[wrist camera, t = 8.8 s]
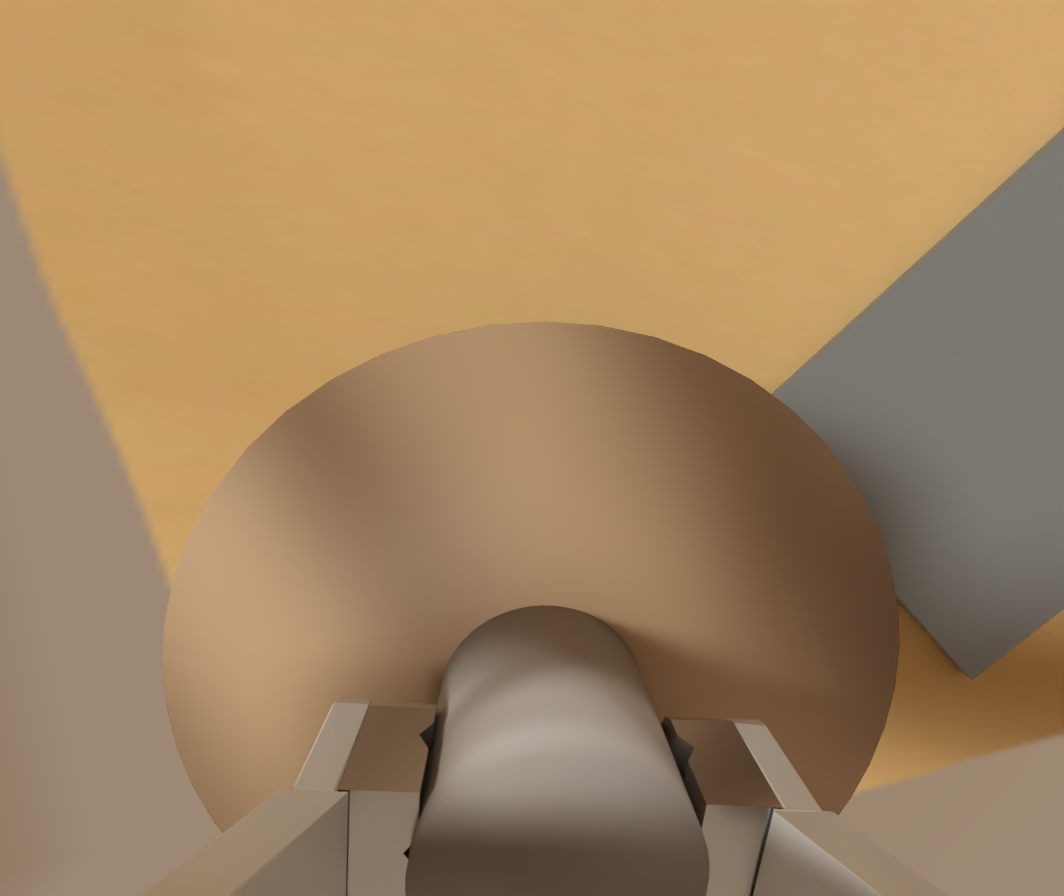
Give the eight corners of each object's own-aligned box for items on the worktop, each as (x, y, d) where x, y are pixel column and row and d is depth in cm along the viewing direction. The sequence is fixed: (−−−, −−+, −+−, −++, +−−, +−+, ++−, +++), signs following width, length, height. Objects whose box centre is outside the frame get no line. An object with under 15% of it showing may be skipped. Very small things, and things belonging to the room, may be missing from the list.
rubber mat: (1087, 106, 18) (1103, 100, 18) (1280, 424, 21) (1299, 426, 21) (740, 423, 20) (745, 425, 20) (962, 672, 23) (972, 679, 23)
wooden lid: (541, 151, 8) (576, -38, 4) (977, 645, 11) (1286, 852, 6) (62, 667, 10) (-274, 920, 6) (535, 995, 12) (550, 1344, 8)
